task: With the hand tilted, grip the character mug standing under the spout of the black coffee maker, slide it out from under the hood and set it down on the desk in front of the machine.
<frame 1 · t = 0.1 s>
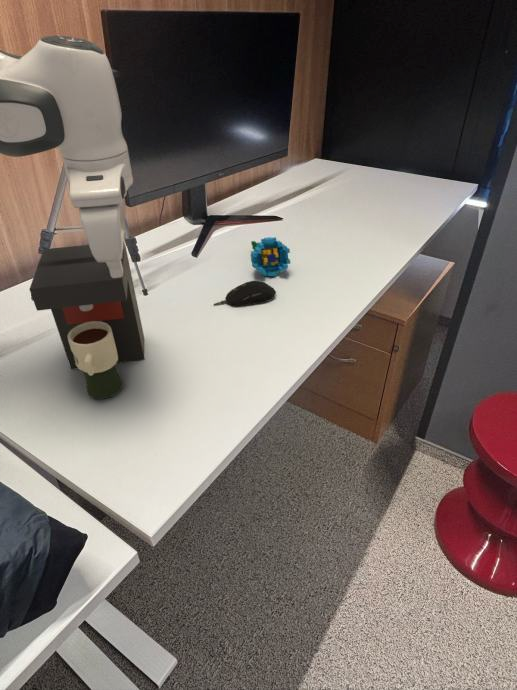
hand: (118, 261, 76), 24 cm above the table, tool pointing down, fingers open, 8 cm apart
coffee maker: (107, 369, 92), on the table
toy flower: (264, 264, 125), on the table
gaming mouse: (244, 300, 112), on the table
character mug: (106, 390, 88), on the table
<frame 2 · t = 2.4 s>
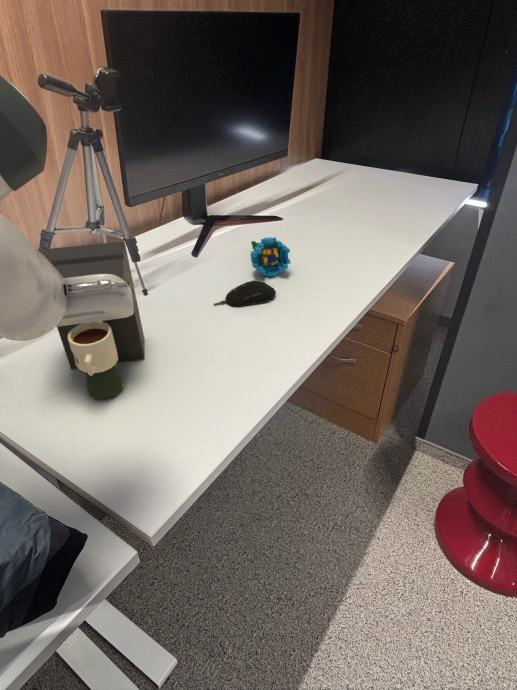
hand: (57, 321, 61), 25 cm above the table, tool tilted 45°, fingers open, 8 cm apart
nothing on the table moved.
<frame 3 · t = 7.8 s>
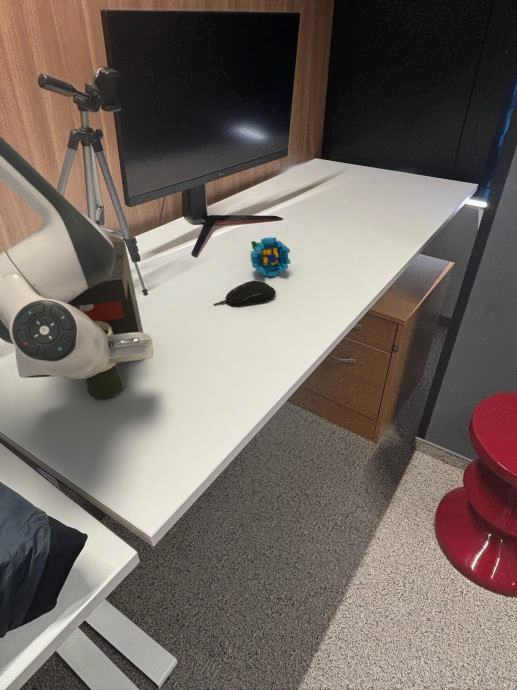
hand: (97, 358, 84), 7 cm above the table, tool tilted 45°, fingers closed on character mug, 7 cm apart
character mug: (106, 390, 88), on the table, touching gripper
everything else where it was.
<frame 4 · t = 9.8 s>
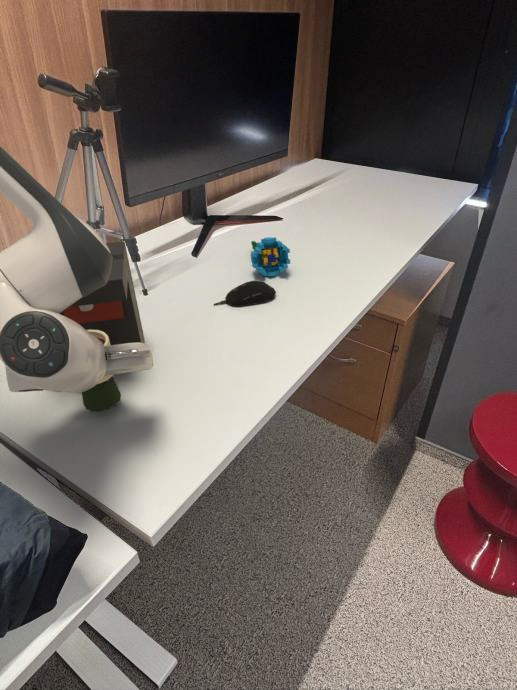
hand: (94, 369, 79), 8 cm above the table, tool tilted 45°, fingers closed on character mug, 7 cm apart
character mug: (103, 402, 83), point 1 cm above the table, touching gripper
everything else where it was.
when the fingers open (7 cm above the table, at t = 12.0 s): character mug stays where it is, on the table.
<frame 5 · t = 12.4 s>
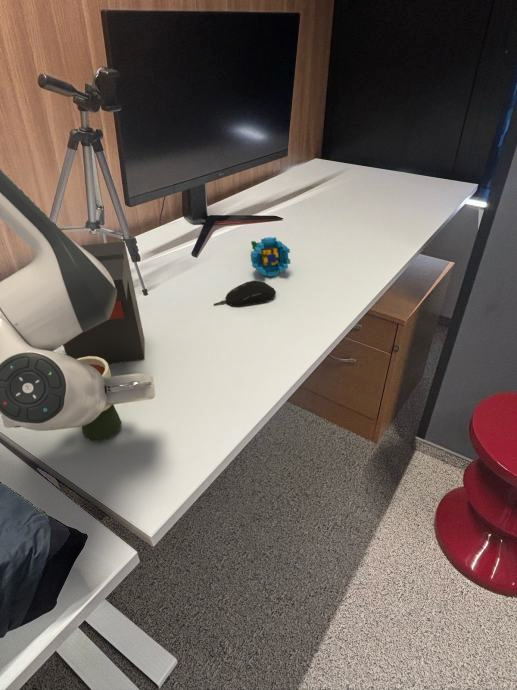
hand: (93, 397, 76), 7 cm above the table, tool tilted 45°, fingers open, 8 cm apart
character mug: (103, 430, 80), on the table
everything else where it was.
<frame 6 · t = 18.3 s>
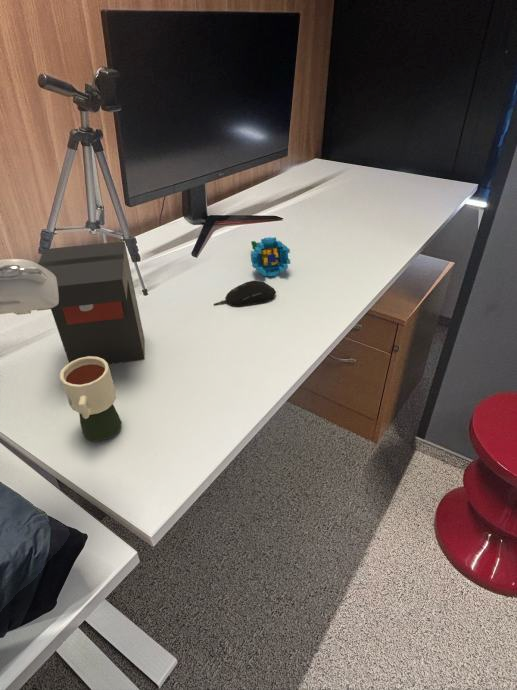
nothing on the table moved.
at the end: character mug inside the target area (0.1 cm from its centre), on the table; character mug tilted 0°; the gripper is holding nothing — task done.
